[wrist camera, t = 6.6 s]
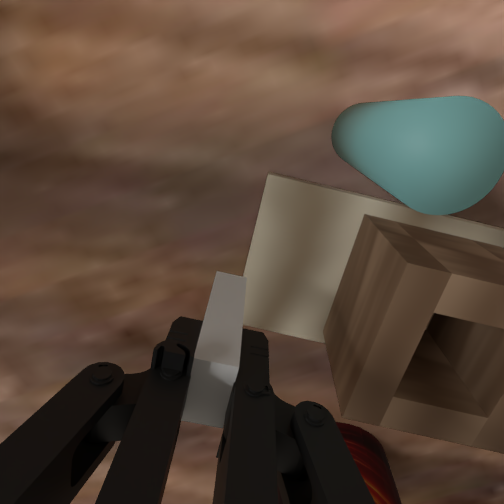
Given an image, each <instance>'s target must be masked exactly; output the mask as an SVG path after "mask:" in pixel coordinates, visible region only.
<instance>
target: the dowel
mask: <svg viewBox="0 0 504 504" xmlns="http://www.w3.org/2000/svg"><path fill="white" fill-rule="evenodd" d="M332 144H333V147H334V149H335V151H336V153H337V154H338V155H339V157H340V158H342V159H343V160H344V161H346V162H347V163H348V164H350V165H351V166H353V167H354V168H355V169H357V170H358V171H360V172H361V173H362V174H364V175H365V176H367V177H368V178H369V179H371V180H372V181H374V182H375V183H376V184H378V185H379V186H381V187H382V188H383V189H385V190H386V191H387V192H389V193H390V194H392V195H393V196H394V197H396V198H397V199H399V200H400V201H401V202H403V203H404V204H406V205H407V206H409V207H410V208H412V209H414V210H416V211H418V212H421V213H424V214H429V215H447V214H452V213H456V212H459V211H462V210H464V209H467V208H469V207H471V206H472V205H474V204H476V203H477V202H478V201H480V200H481V199H483V198H484V197H485V196H486V195H487V194H488V193H489V192H490V191H491V190H492V189H493V187H494V186H495V185H496V183H497V182H498V181H499V179H500V177H501V175H502V174H503V171H504V120H503V119H502V117H501V116H500V114H499V113H498V112H497V111H496V110H495V109H494V108H493V107H492V106H490V105H489V104H488V103H486V102H484V101H482V100H479V99H476V98H473V97H468V96H449V97H436V98H422V99H409V100H396V101H382V102H369V103H359V104H355V105H352V106H350V107H349V108H347V109H346V110H344V111H343V112H342V113H341V114H340V115H339V117H338V118H337V120H336V121H335V123H334V126H333V130H332Z"/></svg>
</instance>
